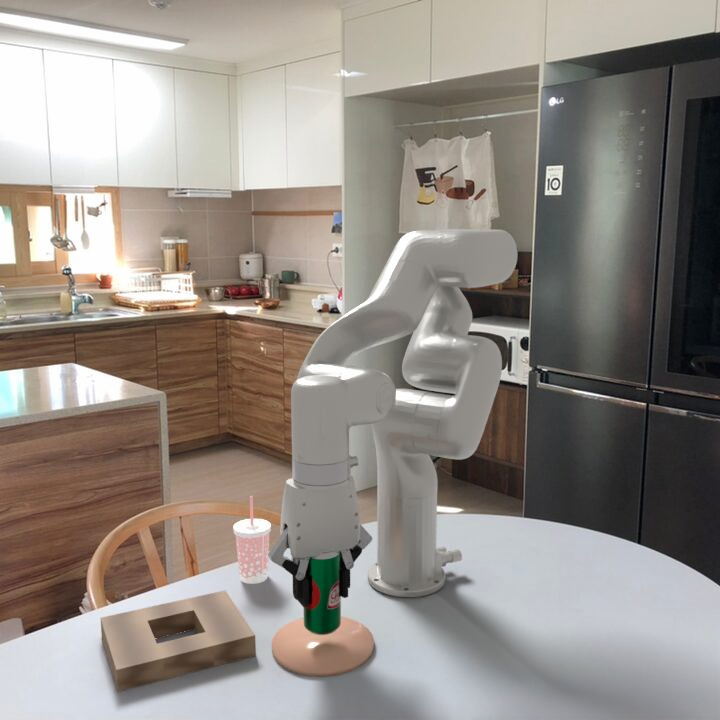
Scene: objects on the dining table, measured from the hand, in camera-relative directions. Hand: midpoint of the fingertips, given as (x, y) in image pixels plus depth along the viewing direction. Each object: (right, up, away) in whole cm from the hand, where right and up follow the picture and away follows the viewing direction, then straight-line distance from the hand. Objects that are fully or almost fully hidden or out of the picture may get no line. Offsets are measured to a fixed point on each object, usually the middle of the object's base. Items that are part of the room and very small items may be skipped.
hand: (321, 596), depth 104 cm
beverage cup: (-12, -4, +22) cm, 25 cm away
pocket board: (-20, -7, +2) cm, 21 cm away
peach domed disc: (0, -7, +1) cm, 7 cm away
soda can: (0, -5, +1) cm, 5 cm away
